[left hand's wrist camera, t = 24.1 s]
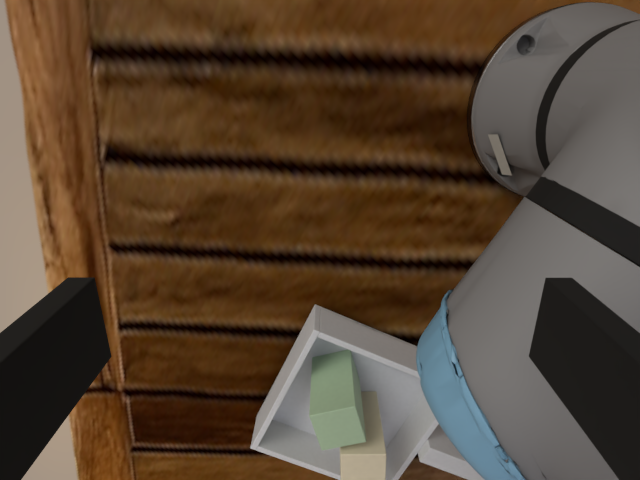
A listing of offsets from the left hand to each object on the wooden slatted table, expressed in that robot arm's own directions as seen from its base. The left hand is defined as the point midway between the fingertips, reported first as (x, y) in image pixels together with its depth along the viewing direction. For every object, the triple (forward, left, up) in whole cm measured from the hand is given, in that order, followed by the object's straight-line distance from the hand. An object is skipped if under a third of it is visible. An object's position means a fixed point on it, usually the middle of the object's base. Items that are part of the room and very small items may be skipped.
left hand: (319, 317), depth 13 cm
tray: (-9, +27, -25) cm, 38 cm away
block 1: (-2, +21, -25) cm, 33 cm away
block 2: (-4, +26, -25) cm, 36 cm away
